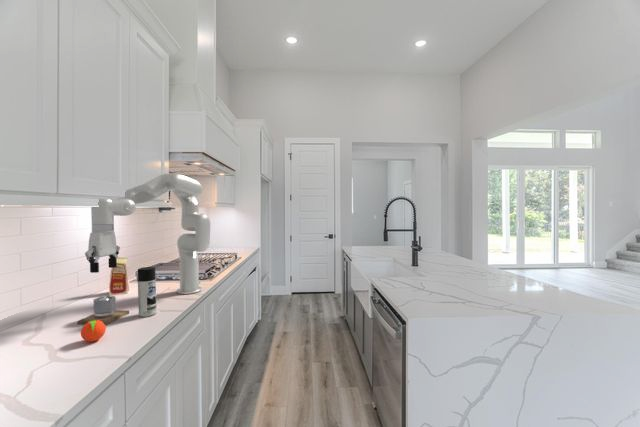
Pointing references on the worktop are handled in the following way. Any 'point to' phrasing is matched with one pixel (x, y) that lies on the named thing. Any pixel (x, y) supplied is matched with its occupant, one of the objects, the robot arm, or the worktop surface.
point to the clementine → (93, 330)
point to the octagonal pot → (104, 305)
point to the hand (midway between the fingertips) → (104, 269)
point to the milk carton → (119, 278)
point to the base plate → (106, 320)
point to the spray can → (146, 291)
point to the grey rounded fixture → (104, 313)
